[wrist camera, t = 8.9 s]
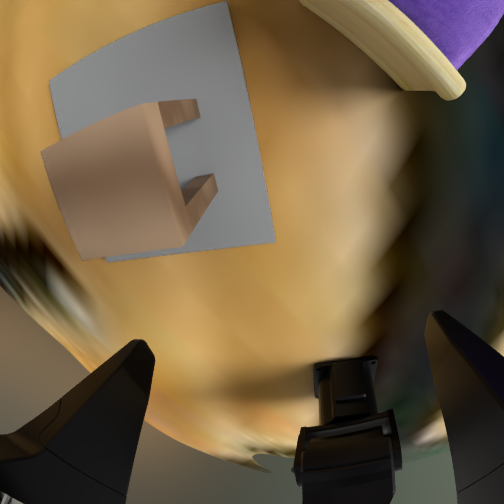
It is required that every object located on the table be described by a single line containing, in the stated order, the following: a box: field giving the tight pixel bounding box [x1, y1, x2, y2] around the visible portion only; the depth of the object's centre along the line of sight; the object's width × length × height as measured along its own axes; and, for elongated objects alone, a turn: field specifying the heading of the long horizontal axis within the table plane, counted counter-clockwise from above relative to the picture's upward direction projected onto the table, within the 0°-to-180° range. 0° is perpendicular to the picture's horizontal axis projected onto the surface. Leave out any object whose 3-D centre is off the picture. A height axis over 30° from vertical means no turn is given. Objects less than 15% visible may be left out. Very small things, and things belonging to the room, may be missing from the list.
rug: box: [49, 1, 276, 262], centre depth 17 cm, size 16×14×1 cm
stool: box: [41, 99, 218, 261], centre depth 14 cm, size 6×6×7 cm
